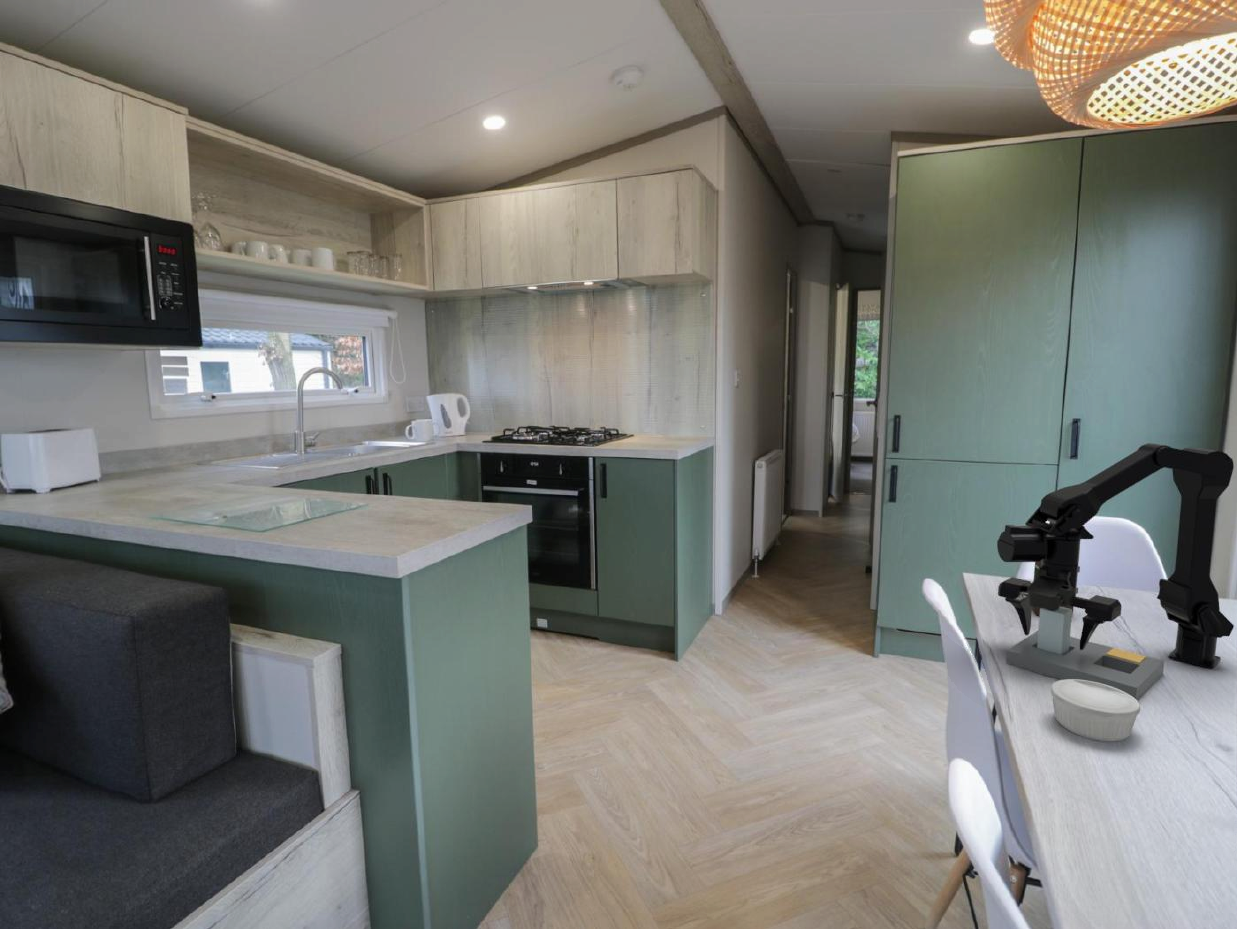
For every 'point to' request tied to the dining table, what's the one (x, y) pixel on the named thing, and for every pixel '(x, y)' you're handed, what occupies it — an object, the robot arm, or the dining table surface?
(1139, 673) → the socket panel
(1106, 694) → the ramekin
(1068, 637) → the plug
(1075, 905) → the dining table surface
